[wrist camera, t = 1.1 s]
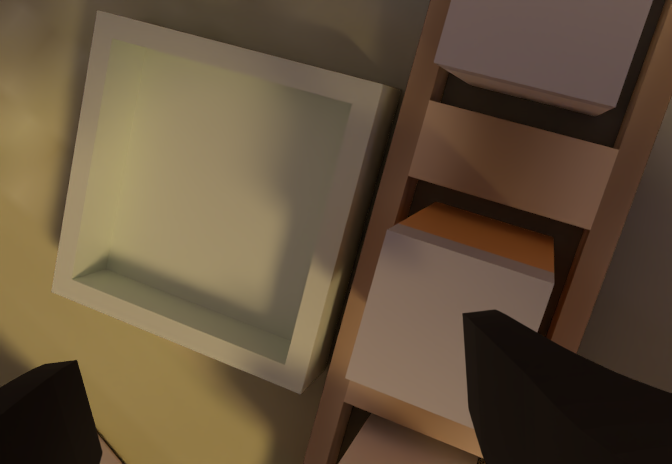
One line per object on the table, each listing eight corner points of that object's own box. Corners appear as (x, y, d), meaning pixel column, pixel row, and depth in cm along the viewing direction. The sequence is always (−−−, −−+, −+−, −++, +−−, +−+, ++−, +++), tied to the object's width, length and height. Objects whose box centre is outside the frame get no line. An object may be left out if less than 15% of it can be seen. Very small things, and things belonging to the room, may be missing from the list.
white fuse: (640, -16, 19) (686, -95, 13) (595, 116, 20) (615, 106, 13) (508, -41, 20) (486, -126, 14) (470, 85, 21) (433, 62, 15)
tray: (401, 90, 22) (383, 84, 19) (325, 369, 24) (300, 394, 22) (140, 21, 25) (97, 9, 22) (94, 278, 27) (51, 292, 25)
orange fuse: (553, 237, 21) (554, 283, 14) (515, 348, 22) (499, 439, 15) (436, 201, 22) (387, 229, 15) (404, 308, 23) (345, 377, 16)
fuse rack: (719, -62, 18) (738, -85, 16) (476, 600, 24) (470, 640, 22) (473, -104, 20) (465, -129, 18) (299, 517, 25) (279, 547, 24)
